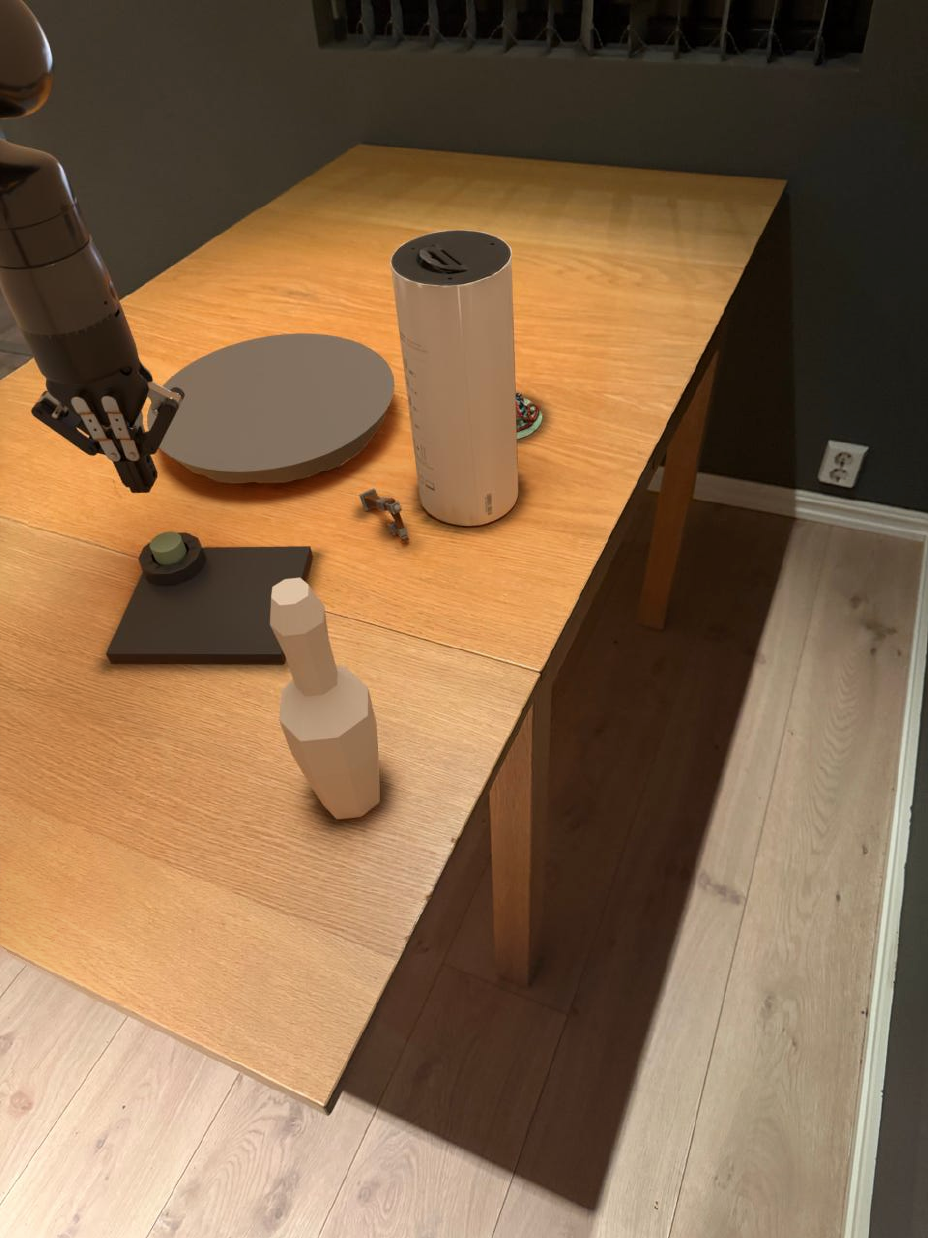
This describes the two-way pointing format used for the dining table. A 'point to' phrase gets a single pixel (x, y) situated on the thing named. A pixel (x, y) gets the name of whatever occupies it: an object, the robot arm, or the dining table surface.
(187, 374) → the flat disc
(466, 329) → the speaker
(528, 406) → the painted miniature figurine
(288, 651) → the low poly bottle
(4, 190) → the robot arm
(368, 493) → the jointed metal bracket
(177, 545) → the button
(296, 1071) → the dining table surface
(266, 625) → the scale
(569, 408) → the dining table surface
